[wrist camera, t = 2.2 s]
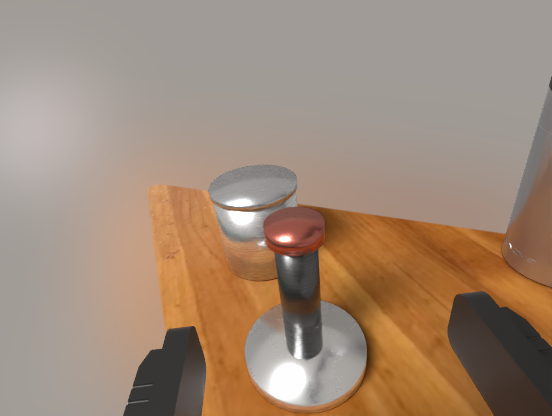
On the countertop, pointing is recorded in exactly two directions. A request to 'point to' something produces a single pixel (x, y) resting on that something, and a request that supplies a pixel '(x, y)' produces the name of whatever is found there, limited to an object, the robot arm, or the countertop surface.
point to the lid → (303, 325)
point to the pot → (251, 215)
